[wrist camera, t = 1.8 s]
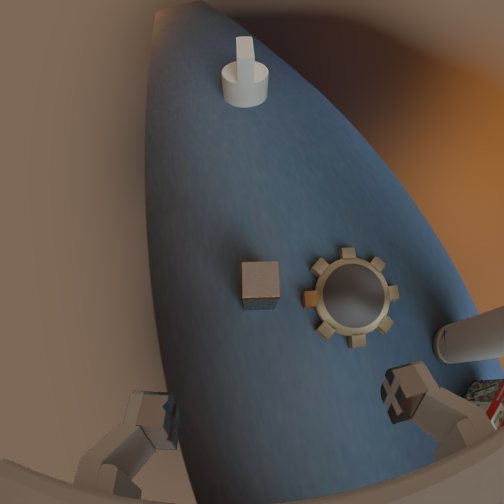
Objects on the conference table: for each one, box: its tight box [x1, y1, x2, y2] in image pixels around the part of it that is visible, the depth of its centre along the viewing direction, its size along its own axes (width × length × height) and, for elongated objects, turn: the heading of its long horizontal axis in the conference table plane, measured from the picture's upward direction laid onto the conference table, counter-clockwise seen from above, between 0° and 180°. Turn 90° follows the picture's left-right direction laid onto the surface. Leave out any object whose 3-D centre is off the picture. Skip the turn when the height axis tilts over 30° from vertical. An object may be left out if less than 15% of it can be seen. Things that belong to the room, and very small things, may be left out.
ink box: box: [463, 379, 504, 430], centre depth 27 cm, size 4×8×15 cm, turn 133°
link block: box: [242, 261, 280, 310], centre depth 36 cm, size 4×4×8 cm
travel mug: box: [433, 306, 504, 364], centre depth 28 cm, size 6×7×20 cm
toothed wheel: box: [302, 248, 399, 348], centre depth 39 cm, size 14×14×2 cm
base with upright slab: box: [222, 37, 268, 107], centre depth 49 cm, size 9×9×12 cm
